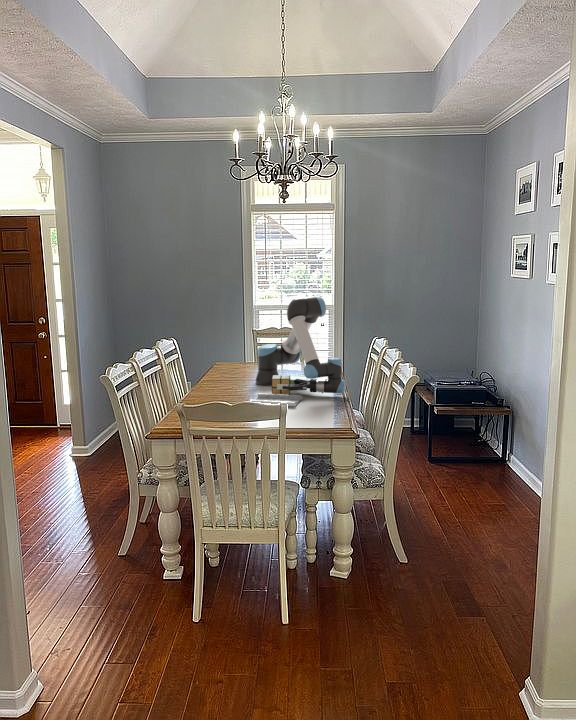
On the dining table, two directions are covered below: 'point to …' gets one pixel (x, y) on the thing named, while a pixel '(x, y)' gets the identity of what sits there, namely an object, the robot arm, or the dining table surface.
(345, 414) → the dining table surface
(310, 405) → the dining table surface
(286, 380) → the puzzle cube
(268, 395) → the rail base
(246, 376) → the dining table surface
